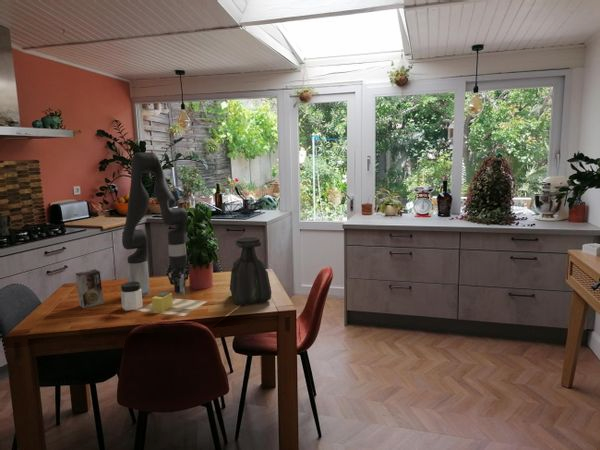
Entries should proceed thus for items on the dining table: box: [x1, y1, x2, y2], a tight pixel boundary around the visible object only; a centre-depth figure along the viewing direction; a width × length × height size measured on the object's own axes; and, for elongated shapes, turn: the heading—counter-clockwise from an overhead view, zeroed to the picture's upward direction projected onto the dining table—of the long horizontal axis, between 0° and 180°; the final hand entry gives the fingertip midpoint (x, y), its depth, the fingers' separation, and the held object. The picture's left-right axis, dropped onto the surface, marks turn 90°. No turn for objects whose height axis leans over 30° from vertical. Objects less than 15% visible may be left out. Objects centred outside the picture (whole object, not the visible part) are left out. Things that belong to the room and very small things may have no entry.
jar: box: [120, 281, 144, 311], centre depth 196 cm, size 9×8×12 cm
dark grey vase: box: [229, 236, 272, 307], centre depth 203 cm, size 18×16×30 cm
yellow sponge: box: [151, 291, 173, 312], centre depth 194 cm, size 5×8×6 cm, turn 162°
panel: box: [136, 297, 207, 317], centre depth 197 cm, size 25×19×1 cm
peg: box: [175, 274, 186, 296], centre depth 189 cm, size 4×4×9 cm
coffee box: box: [75, 268, 104, 309], centre depth 204 cm, size 9×6×16 cm
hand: (180, 291), depth 190 cm, fingers closed on peg, 3 cm apart
